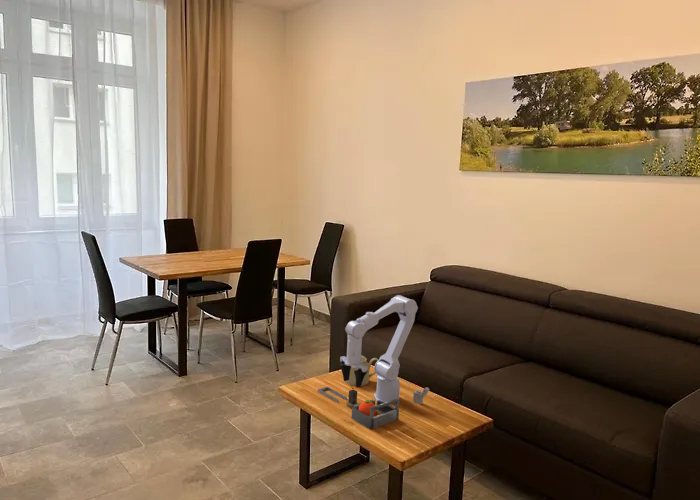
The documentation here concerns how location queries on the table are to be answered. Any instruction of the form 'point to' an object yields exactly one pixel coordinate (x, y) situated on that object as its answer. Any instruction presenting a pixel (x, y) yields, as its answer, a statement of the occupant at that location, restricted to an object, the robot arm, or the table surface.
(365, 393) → the table surface
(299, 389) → the table surface
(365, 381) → the beige teapot
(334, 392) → the track
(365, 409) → the tomato
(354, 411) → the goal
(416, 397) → the lighter
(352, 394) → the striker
